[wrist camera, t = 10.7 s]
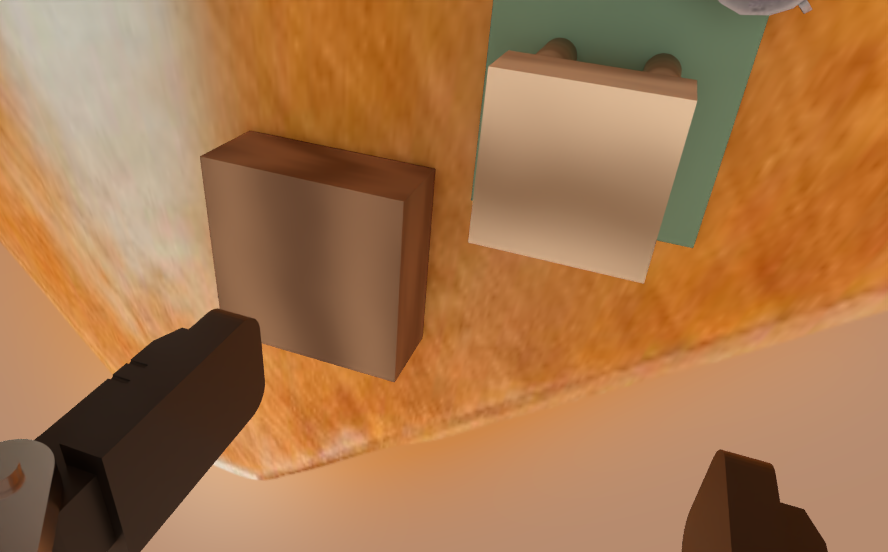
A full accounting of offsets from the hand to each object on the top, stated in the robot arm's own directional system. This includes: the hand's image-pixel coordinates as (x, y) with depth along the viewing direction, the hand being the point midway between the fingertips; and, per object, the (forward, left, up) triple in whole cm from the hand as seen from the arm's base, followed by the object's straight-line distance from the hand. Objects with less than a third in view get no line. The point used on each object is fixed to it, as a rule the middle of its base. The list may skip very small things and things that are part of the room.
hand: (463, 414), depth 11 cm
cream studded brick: (0, 0, -19) cm, 19 cm away
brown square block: (-12, -9, -19) cm, 24 cm away
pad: (0, 0, -19) cm, 19 cm away
